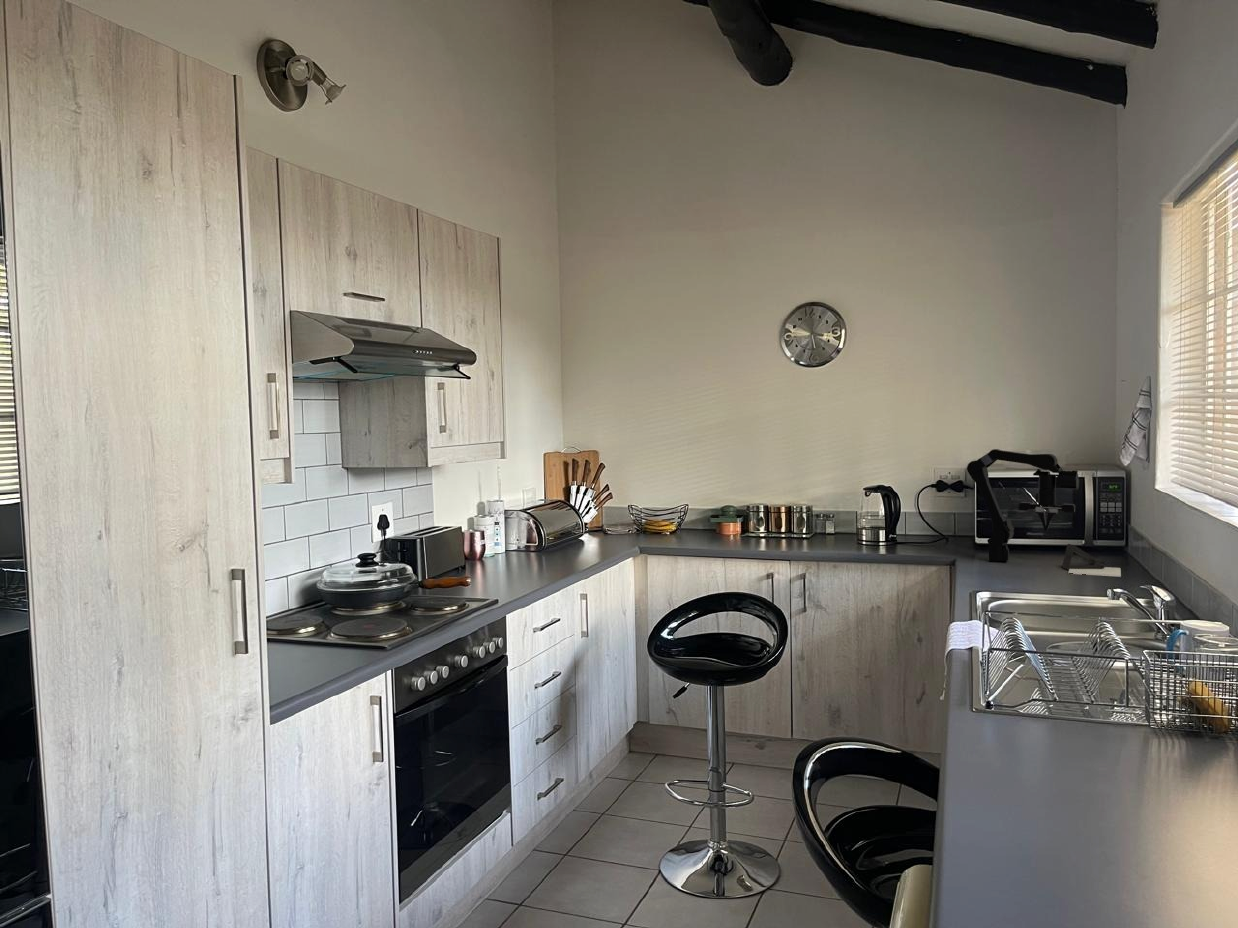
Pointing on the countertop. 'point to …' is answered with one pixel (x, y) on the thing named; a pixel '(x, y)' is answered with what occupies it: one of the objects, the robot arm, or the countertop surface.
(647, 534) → the countertop surface
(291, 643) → the countertop surface
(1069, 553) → the phone stand
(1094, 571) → the mat
